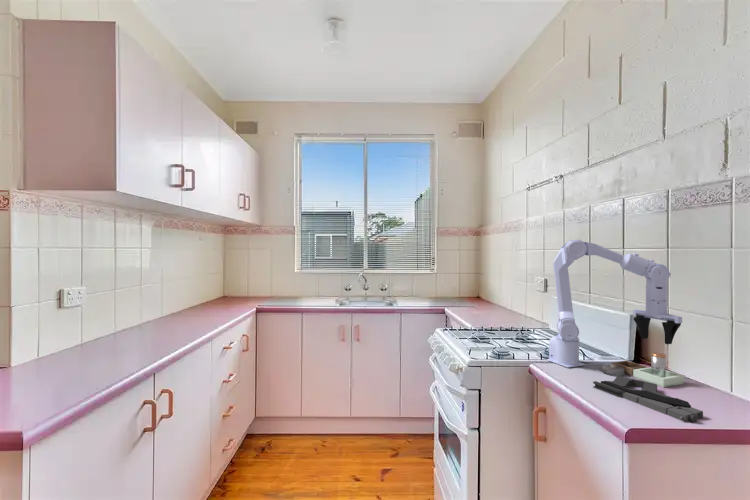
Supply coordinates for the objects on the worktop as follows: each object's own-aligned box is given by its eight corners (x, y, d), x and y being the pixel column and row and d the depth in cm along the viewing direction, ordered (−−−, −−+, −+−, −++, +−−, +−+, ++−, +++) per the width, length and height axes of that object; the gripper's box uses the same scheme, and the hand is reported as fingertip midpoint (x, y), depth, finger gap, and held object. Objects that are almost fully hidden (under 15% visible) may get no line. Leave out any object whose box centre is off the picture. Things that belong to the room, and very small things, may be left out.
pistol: (626, 374, 119) (590, 380, 113) (726, 406, 95) (687, 416, 89) (626, 381, 119) (590, 387, 113) (726, 415, 95) (687, 425, 89)
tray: (633, 377, 121) (633, 369, 121) (653, 374, 124) (653, 366, 124) (663, 387, 112) (663, 379, 112) (684, 383, 115) (684, 375, 115)
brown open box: (597, 371, 127) (597, 362, 127) (626, 366, 131) (626, 358, 131) (616, 377, 120) (616, 369, 120) (647, 373, 125) (647, 364, 125)
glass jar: (648, 377, 119) (648, 353, 119) (656, 376, 120) (656, 352, 120) (660, 381, 116) (660, 356, 116) (668, 379, 117) (668, 355, 117)
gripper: (688, 302, 120) (688, 345, 120) (643, 296, 133) (643, 335, 134) (673, 303, 117) (673, 347, 118) (628, 297, 131) (628, 336, 131)
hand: (656, 341), depth 125 cm, fingers open, 7 cm apart
